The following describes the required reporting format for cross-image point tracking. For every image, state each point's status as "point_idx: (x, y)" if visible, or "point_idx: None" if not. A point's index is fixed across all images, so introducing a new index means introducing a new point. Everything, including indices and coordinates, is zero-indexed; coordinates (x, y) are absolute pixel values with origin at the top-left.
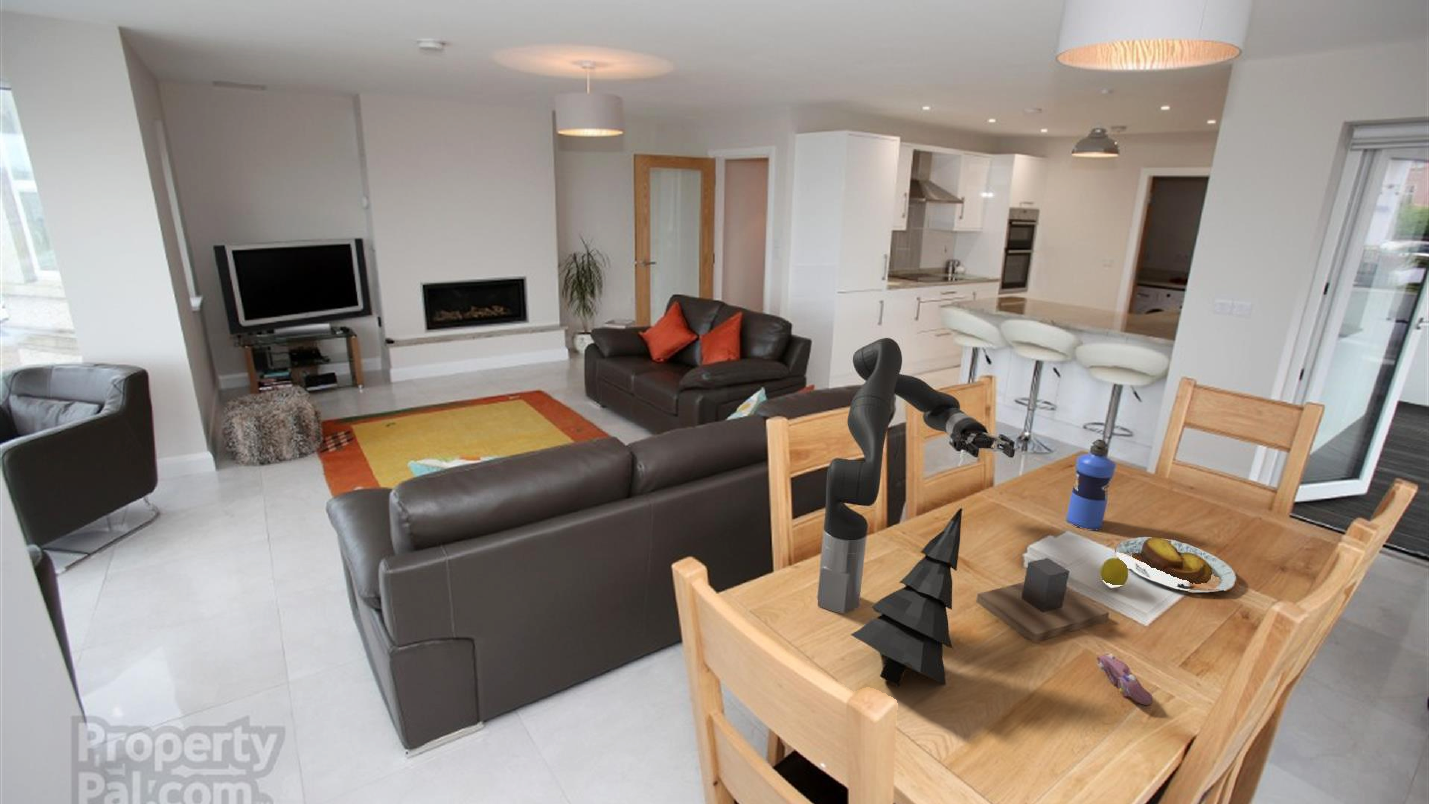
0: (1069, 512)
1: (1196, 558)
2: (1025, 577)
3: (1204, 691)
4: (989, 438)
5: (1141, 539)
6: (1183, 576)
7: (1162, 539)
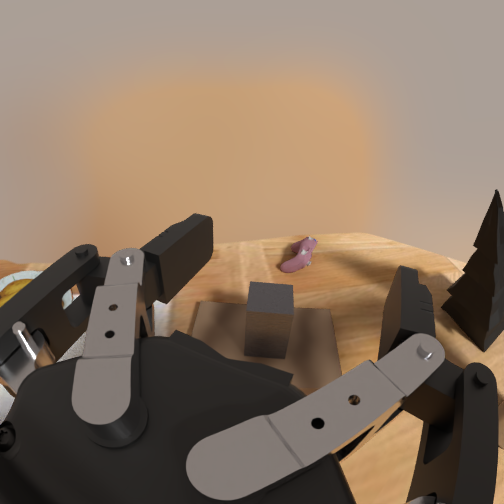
0: None
1: (11, 286)
2: (289, 334)
3: (234, 243)
4: (137, 349)
5: None
6: None
7: None
